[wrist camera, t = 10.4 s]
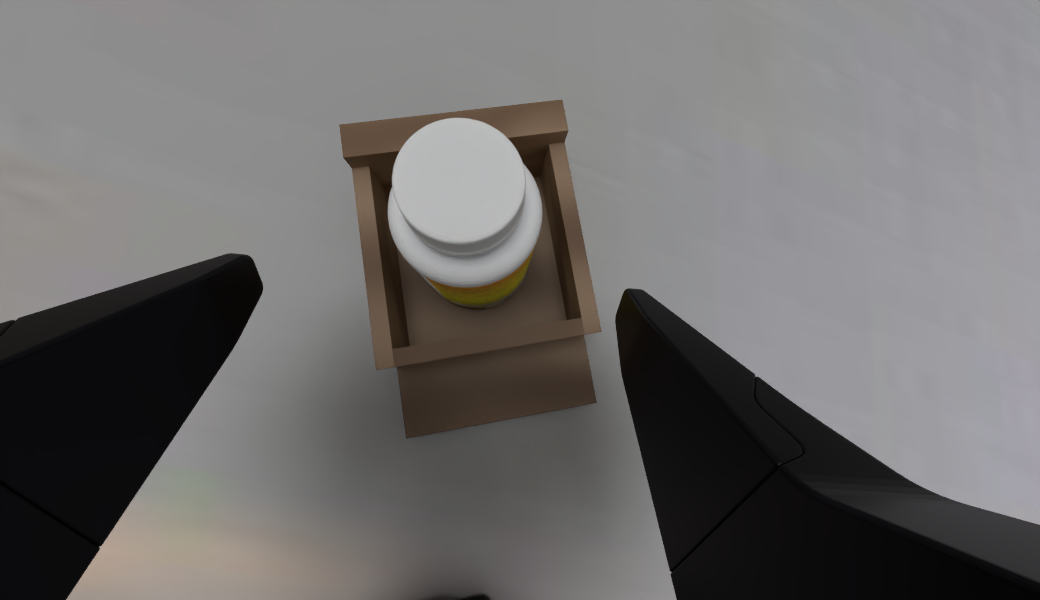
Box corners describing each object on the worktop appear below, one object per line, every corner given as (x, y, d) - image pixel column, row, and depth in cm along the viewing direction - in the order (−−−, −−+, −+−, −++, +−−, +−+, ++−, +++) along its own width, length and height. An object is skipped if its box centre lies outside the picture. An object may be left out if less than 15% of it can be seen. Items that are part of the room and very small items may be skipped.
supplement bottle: (546, 266, 21) (592, 188, 11) (473, 331, 20) (450, 313, 10) (481, 196, 21) (467, 57, 11) (407, 257, 21) (320, 168, 10)
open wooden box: (591, 400, 21) (624, 417, 16) (410, 433, 20) (379, 465, 15) (546, 158, 23) (562, 99, 18) (378, 179, 22) (339, 124, 17)
